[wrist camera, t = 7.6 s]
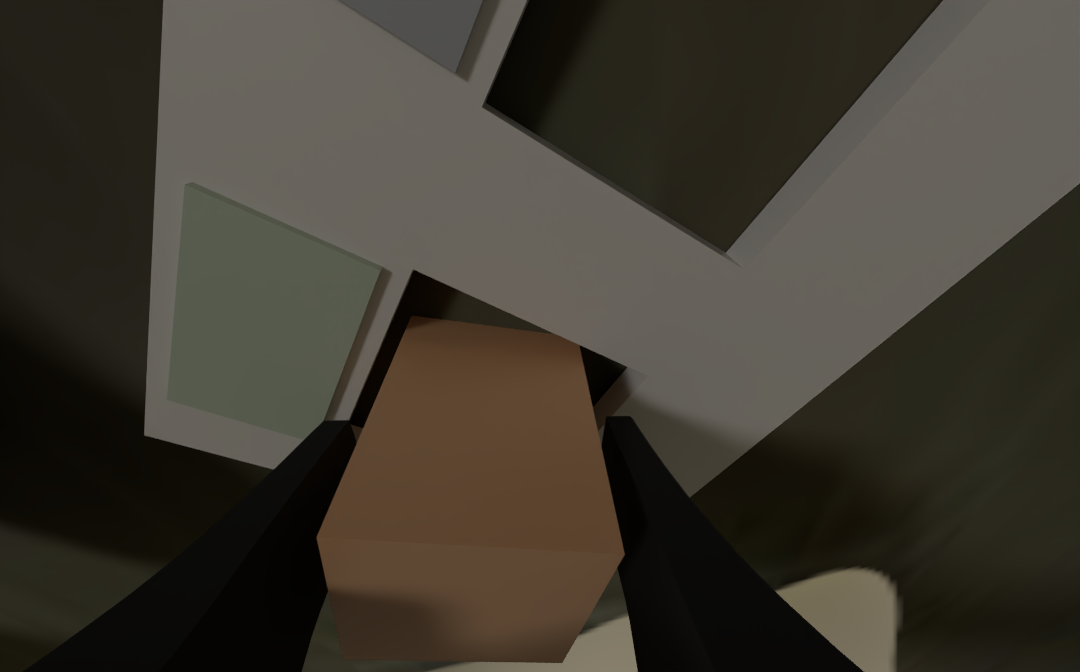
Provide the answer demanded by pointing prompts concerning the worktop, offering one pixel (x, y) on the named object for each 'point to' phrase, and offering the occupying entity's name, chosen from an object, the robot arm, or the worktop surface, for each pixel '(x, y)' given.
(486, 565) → the plug
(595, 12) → the worktop surface
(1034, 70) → the panel
